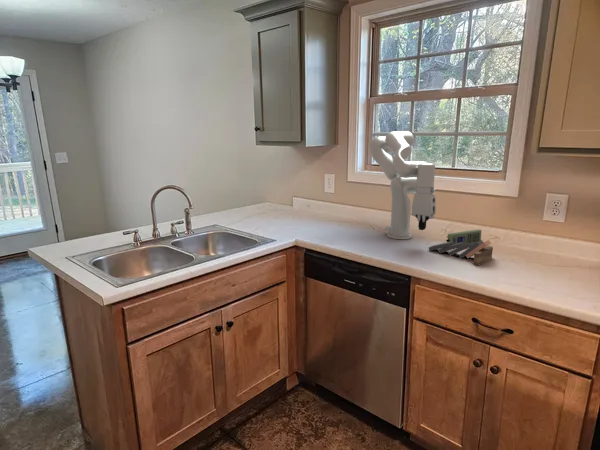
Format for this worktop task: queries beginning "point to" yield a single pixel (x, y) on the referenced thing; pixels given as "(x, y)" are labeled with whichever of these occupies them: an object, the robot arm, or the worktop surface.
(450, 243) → the domino
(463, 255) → the domino
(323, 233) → the worktop surface
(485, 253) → the bar
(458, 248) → the domino
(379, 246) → the worktop surface
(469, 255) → the domino
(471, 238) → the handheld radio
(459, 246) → the domino
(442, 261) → the worktop surface
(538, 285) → the worktop surface
